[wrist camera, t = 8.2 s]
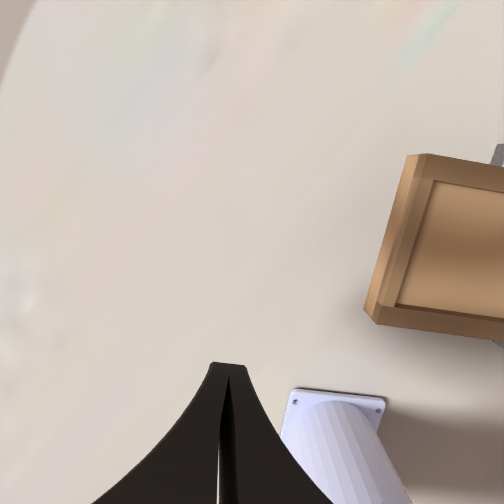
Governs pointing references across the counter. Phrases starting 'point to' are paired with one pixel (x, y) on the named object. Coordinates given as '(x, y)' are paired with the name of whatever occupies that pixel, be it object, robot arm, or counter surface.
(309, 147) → the counter surface
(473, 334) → the wooden tray
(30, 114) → the counter surface
